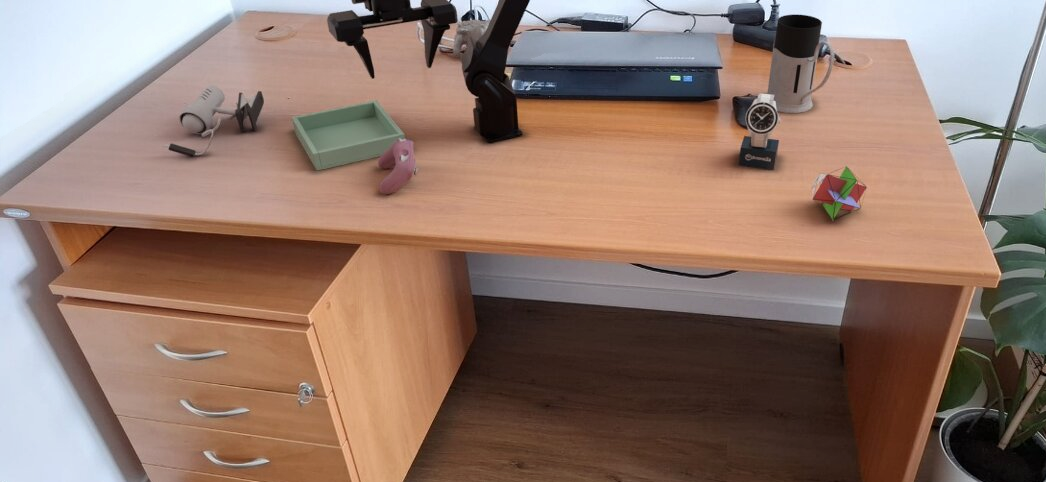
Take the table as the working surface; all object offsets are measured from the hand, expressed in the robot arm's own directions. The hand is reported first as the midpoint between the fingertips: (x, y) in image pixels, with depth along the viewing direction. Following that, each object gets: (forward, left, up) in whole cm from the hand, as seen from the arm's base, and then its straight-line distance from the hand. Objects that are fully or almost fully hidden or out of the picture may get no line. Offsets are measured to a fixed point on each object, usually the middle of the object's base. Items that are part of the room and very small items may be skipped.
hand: (401, 72), depth 129 cm
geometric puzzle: (-46, +52, -12) cm, 71 cm away
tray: (+9, -5, -12) cm, 16 cm away
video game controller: (+6, +12, -12) cm, 18 cm away
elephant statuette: (-26, -31, -12) cm, 42 cm away
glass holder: (-65, +21, -12) cm, 69 cm away
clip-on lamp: (+28, -18, -12) cm, 35 cm away
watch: (-46, +34, -12) cm, 59 cm away
